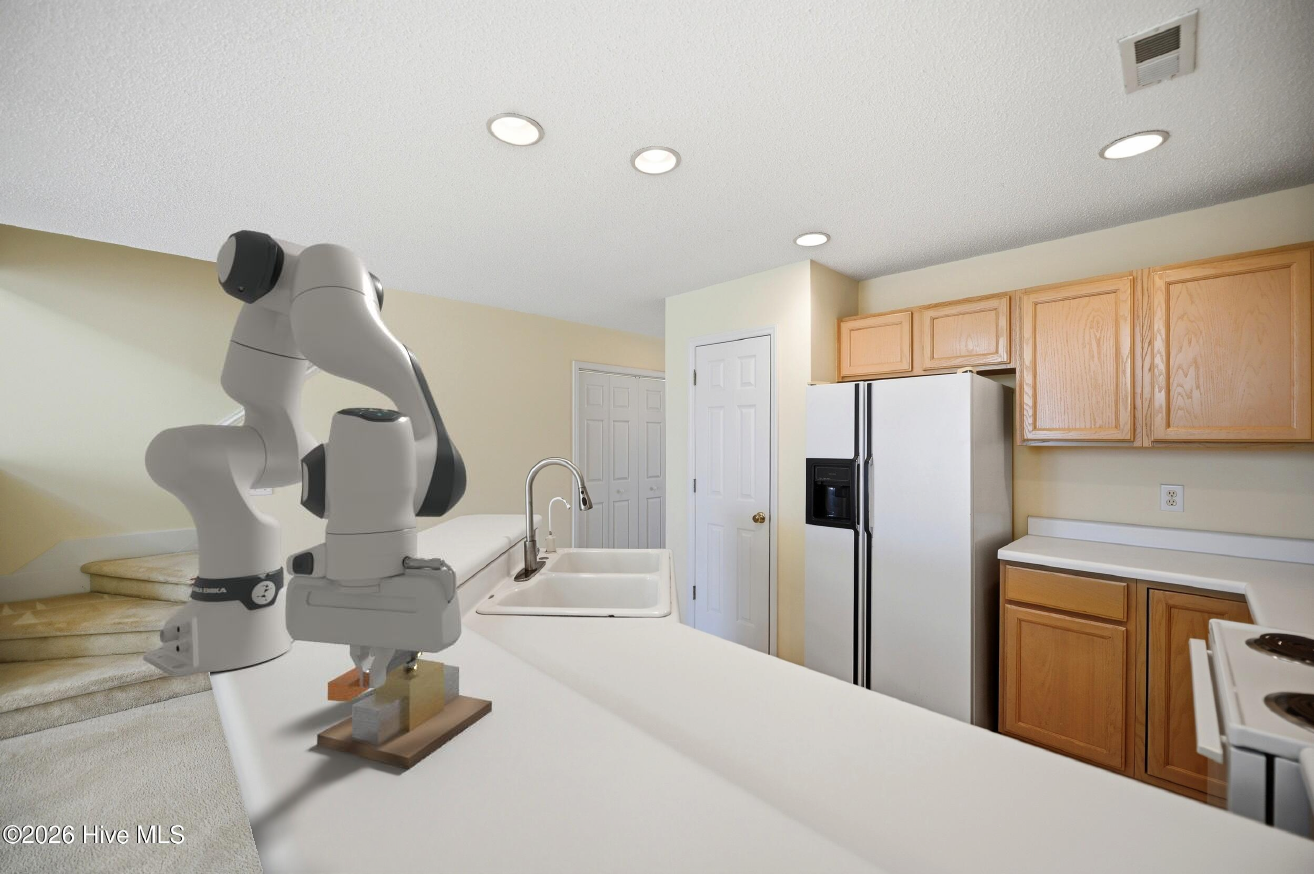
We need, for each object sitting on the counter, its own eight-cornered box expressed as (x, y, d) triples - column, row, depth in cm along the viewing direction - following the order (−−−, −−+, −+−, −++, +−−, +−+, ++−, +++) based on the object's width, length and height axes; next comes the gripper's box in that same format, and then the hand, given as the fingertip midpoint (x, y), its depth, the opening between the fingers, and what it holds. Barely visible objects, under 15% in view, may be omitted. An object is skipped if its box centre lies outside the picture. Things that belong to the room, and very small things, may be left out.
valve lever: (407, 652, 69) (407, 638, 69) (426, 653, 68) (427, 639, 68) (325, 700, 56) (326, 682, 56) (349, 702, 55) (349, 684, 55)
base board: (317, 744, 63) (317, 734, 63) (410, 693, 76) (410, 685, 76) (408, 769, 58) (408, 757, 58) (491, 710, 71) (491, 701, 71)
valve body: (347, 738, 62) (347, 675, 62) (431, 691, 74) (431, 638, 74) (383, 747, 60) (383, 682, 60) (463, 697, 72) (463, 643, 72)
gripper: (473, 553, 58) (474, 682, 58) (324, 548, 64) (323, 666, 63) (434, 564, 52) (434, 709, 52) (273, 558, 58) (272, 688, 57)
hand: (372, 685), depth 57 cm, fingers closed
